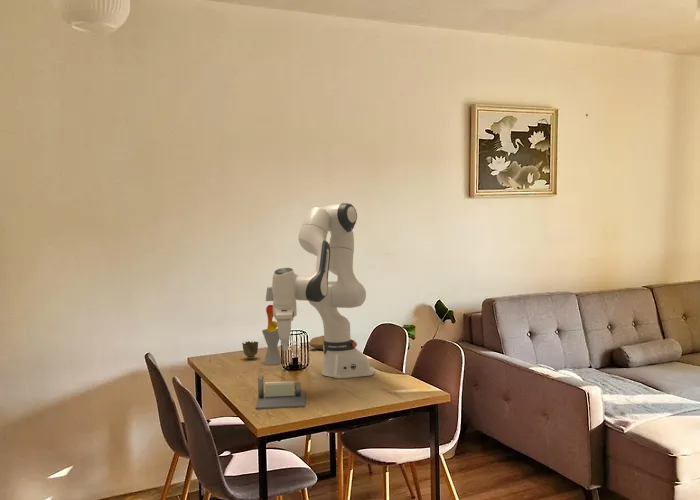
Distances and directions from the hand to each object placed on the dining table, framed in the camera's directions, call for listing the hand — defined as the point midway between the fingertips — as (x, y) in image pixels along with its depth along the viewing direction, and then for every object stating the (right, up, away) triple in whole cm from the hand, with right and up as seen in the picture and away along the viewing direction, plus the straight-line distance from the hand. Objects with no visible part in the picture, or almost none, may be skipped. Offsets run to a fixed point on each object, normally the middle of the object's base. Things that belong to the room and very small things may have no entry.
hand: (285, 347), depth 235 cm
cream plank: (-2, -17, -5) cm, 18 cm away
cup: (-23, -15, +60) cm, 66 cm away
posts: (-1, -18, -5) cm, 18 cm away
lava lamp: (-11, -15, +52) cm, 55 cm away
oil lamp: (+11, -13, +79) cm, 80 cm away
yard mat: (-1, -18, -8) cm, 20 cm away
